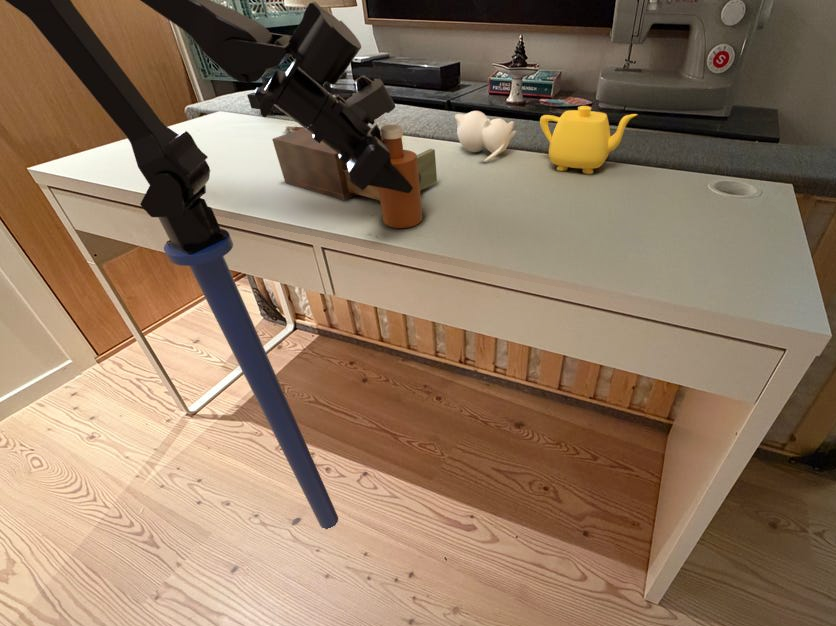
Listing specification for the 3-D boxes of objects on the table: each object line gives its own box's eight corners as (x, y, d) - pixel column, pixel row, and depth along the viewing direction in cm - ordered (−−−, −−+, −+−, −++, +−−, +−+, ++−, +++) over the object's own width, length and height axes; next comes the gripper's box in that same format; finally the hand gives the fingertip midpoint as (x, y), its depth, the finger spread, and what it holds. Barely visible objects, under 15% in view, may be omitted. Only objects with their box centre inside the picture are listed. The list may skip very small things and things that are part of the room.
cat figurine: (513, 105, 91) (460, 97, 95) (494, 149, 89) (440, 139, 93) (520, 138, 100) (470, 129, 103) (502, 178, 98) (452, 168, 101)
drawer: (443, 182, 85) (441, 150, 81) (393, 211, 76) (388, 176, 72) (373, 165, 92) (368, 135, 88) (320, 189, 83) (312, 157, 80)
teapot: (629, 161, 94) (640, 103, 87) (623, 181, 86) (635, 119, 79) (543, 152, 99) (547, 96, 91) (530, 170, 91) (534, 111, 84)
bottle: (399, 232, 72) (386, 137, 63) (375, 219, 76) (360, 127, 66) (430, 219, 75) (422, 127, 66) (406, 207, 79) (396, 118, 69)
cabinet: (396, 175, 90) (390, 131, 85) (344, 200, 82) (334, 154, 76) (338, 160, 97) (329, 119, 91) (285, 182, 88) (271, 138, 83)
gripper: (359, 72, 53) (456, 160, 62) (345, 46, 66) (427, 122, 76) (306, 151, 56) (405, 222, 66) (303, 112, 70) (386, 176, 79)
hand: (407, 182), depth 72 cm, fingers closed on bottle, 6 cm apart
